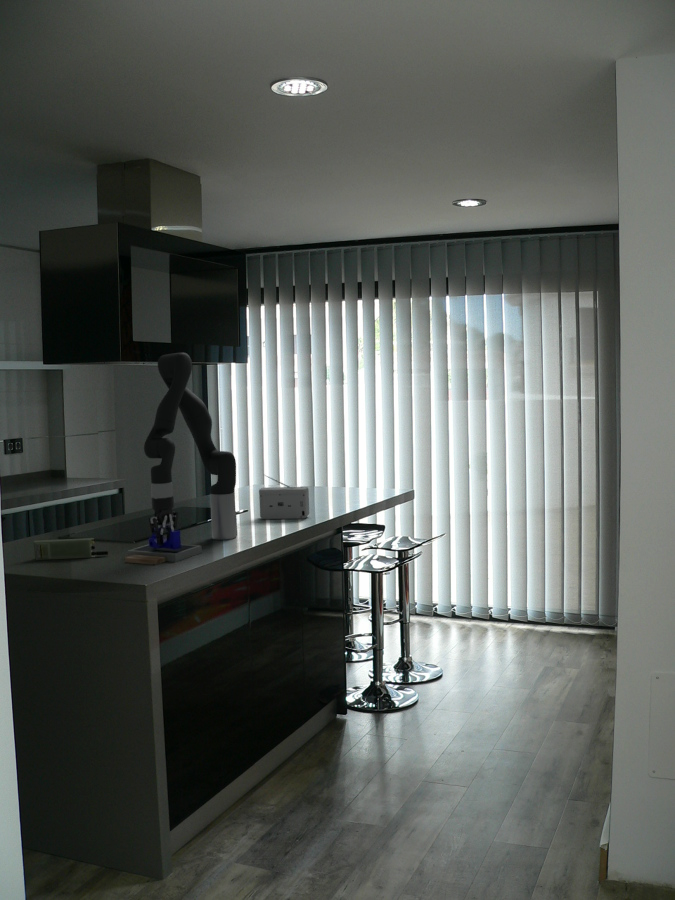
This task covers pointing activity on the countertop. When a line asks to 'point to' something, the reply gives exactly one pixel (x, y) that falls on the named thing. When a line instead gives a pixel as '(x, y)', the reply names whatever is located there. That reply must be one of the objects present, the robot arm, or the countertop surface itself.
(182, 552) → the grey shallow tray
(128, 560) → the walnut pad
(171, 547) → the cable clip
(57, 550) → the handheld radio
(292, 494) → the stereo radio cassette player
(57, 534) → the countertop surface
